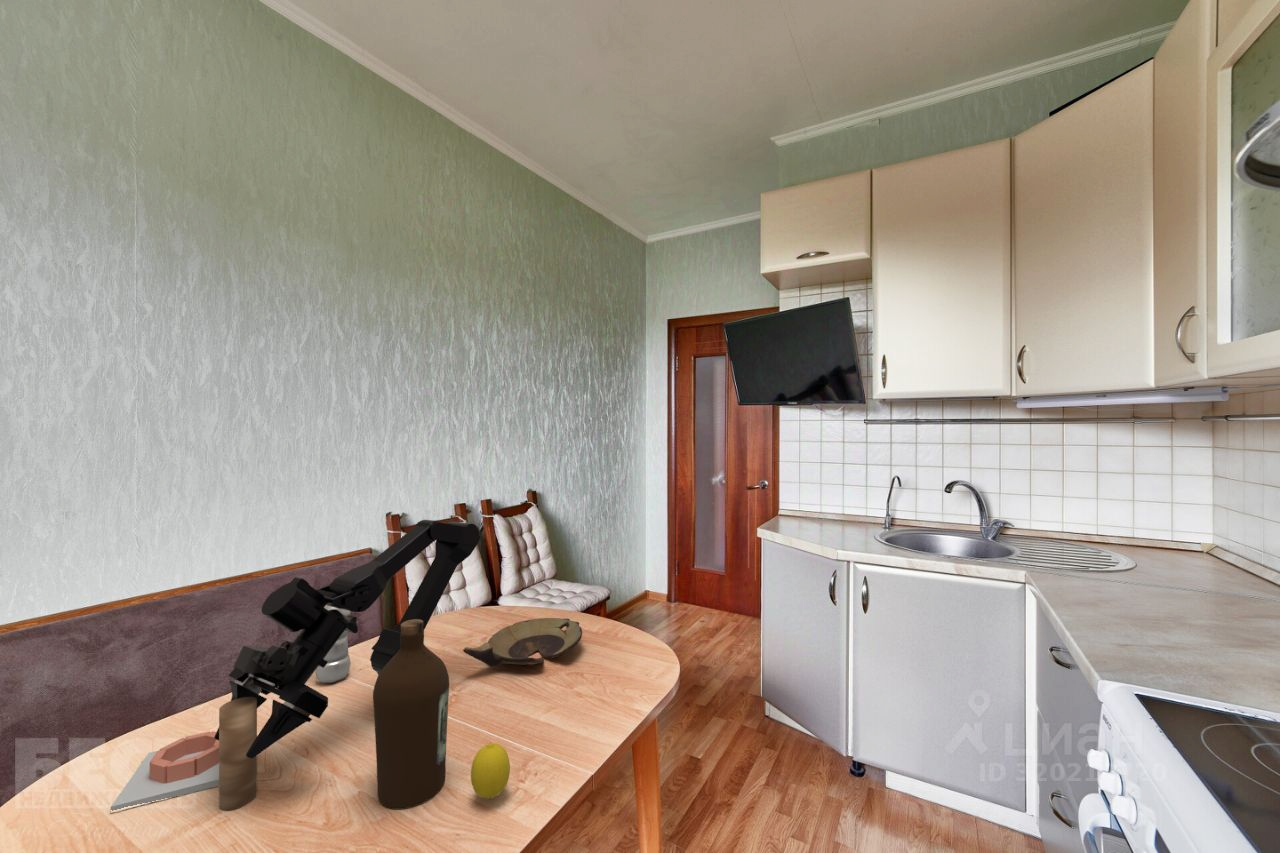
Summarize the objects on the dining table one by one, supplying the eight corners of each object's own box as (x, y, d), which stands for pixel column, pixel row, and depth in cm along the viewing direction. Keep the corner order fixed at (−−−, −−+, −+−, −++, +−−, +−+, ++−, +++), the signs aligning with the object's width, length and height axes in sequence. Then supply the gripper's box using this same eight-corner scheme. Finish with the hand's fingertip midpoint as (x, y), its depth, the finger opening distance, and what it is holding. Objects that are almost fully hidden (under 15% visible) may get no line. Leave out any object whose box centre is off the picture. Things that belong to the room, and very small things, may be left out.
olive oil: (368, 821, 71) (368, 640, 71) (377, 774, 81) (377, 615, 81) (449, 801, 75) (449, 629, 75) (449, 758, 85) (448, 607, 85)
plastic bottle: (308, 684, 110) (308, 591, 111) (337, 670, 117) (337, 582, 117) (329, 689, 108) (329, 594, 108) (357, 675, 114) (357, 585, 115)
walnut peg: (259, 785, 78) (259, 694, 79) (253, 804, 74) (253, 707, 75) (223, 795, 76) (223, 701, 76) (215, 815, 72) (215, 715, 73)
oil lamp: (599, 662, 120) (599, 629, 120) (467, 693, 106) (466, 656, 106) (567, 630, 140) (567, 602, 140) (451, 653, 126) (451, 621, 126)
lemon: (475, 786, 78) (475, 733, 78) (512, 784, 78) (512, 731, 78) (466, 813, 72) (466, 756, 72) (506, 810, 73) (506, 754, 73)
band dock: (252, 735, 92) (252, 715, 92) (233, 781, 79) (233, 759, 79) (148, 758, 85) (148, 737, 85) (110, 813, 73) (110, 789, 73)
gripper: (244, 612, 84) (154, 711, 74) (308, 632, 76) (217, 747, 66) (294, 643, 91) (218, 738, 81) (358, 665, 82) (283, 774, 72)
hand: (232, 748), depth 75 cm, fingers open, 9 cm apart
